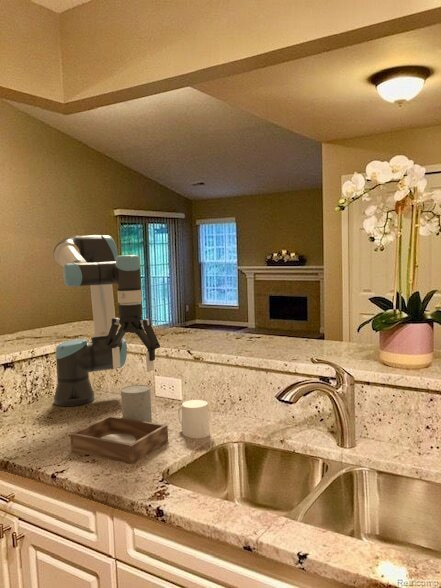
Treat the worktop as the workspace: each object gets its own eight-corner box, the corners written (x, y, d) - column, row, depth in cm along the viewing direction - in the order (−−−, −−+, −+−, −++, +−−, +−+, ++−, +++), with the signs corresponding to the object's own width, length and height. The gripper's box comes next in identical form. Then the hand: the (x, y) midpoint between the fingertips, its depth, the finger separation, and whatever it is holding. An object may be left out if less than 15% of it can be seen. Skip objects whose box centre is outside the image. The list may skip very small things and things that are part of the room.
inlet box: (110, 431, 157) (109, 415, 157) (168, 441, 147) (167, 425, 146) (71, 450, 142) (70, 434, 142) (132, 464, 132) (131, 445, 131)
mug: (215, 403, 152) (196, 409, 146) (216, 433, 153) (197, 440, 147) (188, 396, 160) (169, 402, 154) (189, 424, 161) (170, 431, 155)
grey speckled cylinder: (130, 433, 155) (128, 394, 154) (117, 425, 162) (115, 388, 161) (157, 426, 160) (155, 389, 159) (143, 418, 168) (142, 383, 167)
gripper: (92, 304, 160) (95, 368, 162) (155, 305, 148) (158, 375, 150) (107, 301, 167) (111, 363, 169) (169, 303, 155) (171, 369, 157)
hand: (133, 369), depth 159 cm, fingers open, 13 cm apart
